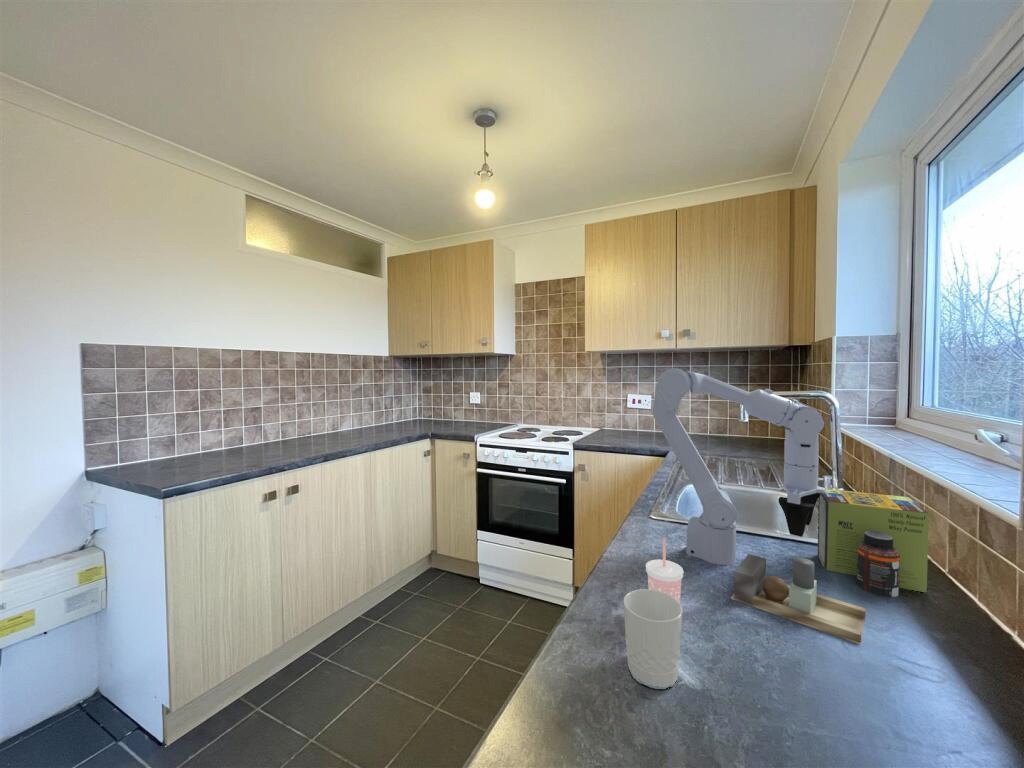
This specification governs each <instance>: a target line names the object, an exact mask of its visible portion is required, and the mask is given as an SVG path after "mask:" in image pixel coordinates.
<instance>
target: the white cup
mask: <svg viewBox="0 0 1024 768" xmlns="http://www.w3.org/2000/svg"><path fill="white" fill-rule="evenodd" d="M623 613H624V614H623V616H624V617H623V618H624V635H625V648H626V652H627V653H626V654H627V667H628V666H629V668H630V670H631V672H632V673H633V674H634V675H635V676H636V677H637V678H639V679H640V680H641V681H643V682H646V683H647V684H649V685H652V686H659V687H667V686H669V685H673V684H674V683H675V682H676V680H677V681H679V680H678V679H679V678H678V677H679V661H680V657H681V656H680V655H681V644H682V643H681V642H682V626H683V607H682V605H681V602H680V603H679V602H678V601H677V600H676V599H674V598H673V597H671V596H670V595H668V594H665V593H663V592H660V591H656V590H650V589H649V588H643V589H642V588H641V589H639V588H638V589H635V590H632V591H629V592H627V594H625V595H624V597H623ZM676 683H677V682H676ZM676 683H675V684H676ZM675 684H674V685H675Z"/></svg>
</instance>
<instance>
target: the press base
mask: <svg viewBox="0 0 1024 768" xmlns="http://www.w3.org/2000/svg"><path fill="white" fill-rule="evenodd" d="M745 556H746V557H745V558H744V559H743V560H742V561H741V563H739V564H738V566H737V567H736V568H735V569H734V572H733V594H732V595H731V596H730V599H731V600H734V601H737V602H739V603H743V604H745V605H748V606H751V607H754V608H757V609H759V610H762V611H764V612H768V613H771V614H773V615H776V616H778V617H780V618H781V617H782V618H785V619H788V620H790V621H793V622H796V623H799V624H801V625H804V626H806V627H810V628H813V629H816V630H819V631H821V632H823V633H827V634H829V635H832V636H836V637H838V638H841V639H844V640H846V641H849V642H852V643H854V644H858V645H861V643H862V637H863V632H864V625H865V619H866V615H867V614H866V610H867V609H866V608H865V607H862V606H858V605H856V604H852V603H849V602H845V601H842V600H839V599H836V598H834V597H833V598H832V597H829V596H826V595H822V594H819V593H817V596H816V605H815V608H814V610H813V613H812V615H811V614H808V613H805V612H802V611H799V610H796V609H794V608H791V607H789V594H788V597H787V598H786V599H785V600H784V601H783V603H782V604H779V603H776V602H773V601H770V600H767V599H766V594H765V592H764V590H763V586H762V585H763V581H764V580H765V579H766V578H767V558H766V557H761V556H759V555H754V554H751V553H748V554H747V555H745ZM790 585H791V584H790ZM790 585H789V584H787V586H788V588H789V587H790Z"/></svg>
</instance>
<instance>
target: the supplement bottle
mask: <svg viewBox="0 0 1024 768" xmlns="http://www.w3.org/2000/svg"><path fill="white" fill-rule="evenodd" d="M864 539H865V540H864V541H863V542H860V543H859V544H858V552H857V576H856V584H857V586H858V587H860V589H862V590H864V591H866V592H868V593H871V594H873V595H876V596H880V597H885V598H896V597H898V596H899V595H900V587H899V582H900V581H899V580H900V553H899V552H898V550H897V549H895V548H894V547H893V537H892V536H890V535H888V534H884V533H881V532H875V531H867V532H865V534H864Z"/></svg>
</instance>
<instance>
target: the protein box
mask: <svg viewBox="0 0 1024 768" xmlns="http://www.w3.org/2000/svg"><path fill="white" fill-rule="evenodd" d="M817 502H818V504H817V505H818V506H817V507H818V509H817V511H818V514H817V518H818V520H817V556H818V559H819V561H820V564H821V566H822V567H823V568H824V569H825V570H826V571H831V572H837V573H842V574H847V575H852V576H854V577H855V576H856V577H857V552H858V544H859V543H860V542H863V541H864V540H865V539H864V534H865V532H867V531H875V532H881V533H884V534H888V535H890V536H892V537H893V547H894V548H895V549H897V550H898V552H899V553H900V580H899V581H900V582H899V589H903V590H904V589H905V590H909V591H911V590H914V591H913V592H915V591H921V592H927V591H928V589H927V588H928V587H927V586H928V560H929V559H928V557H929V555H928V553H929V531H930V530H929V529H930V528H929V526H930V525H929V523H930V513H929V512H928V511H927V510H925V509H924V508H923V507H921V506H920V505H919V504H917V503H916V502H915V501H913V499H912V498H910V497H908V496H900V495H891V494H890V495H889V494H888V495H887V494H879V493H871V492H869V493H868V492H863V491H862V492H861V491H851V490H850V491H849V490H839V489H829V488H825V493H821V495H820V497H819V498H818V500H817Z"/></svg>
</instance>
